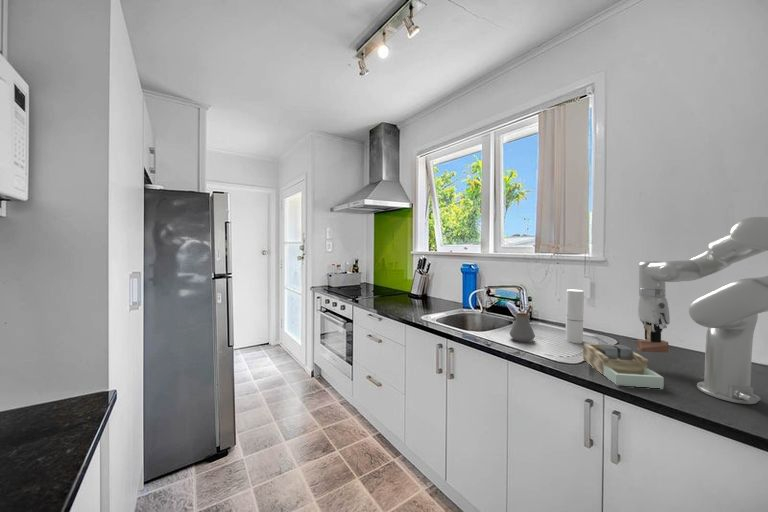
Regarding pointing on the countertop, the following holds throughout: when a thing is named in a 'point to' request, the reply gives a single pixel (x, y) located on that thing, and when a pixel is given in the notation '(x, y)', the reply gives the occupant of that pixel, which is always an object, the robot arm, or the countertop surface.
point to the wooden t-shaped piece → (652, 344)
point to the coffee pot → (522, 328)
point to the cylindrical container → (574, 315)
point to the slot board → (613, 361)
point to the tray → (635, 378)
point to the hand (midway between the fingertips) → (652, 340)
